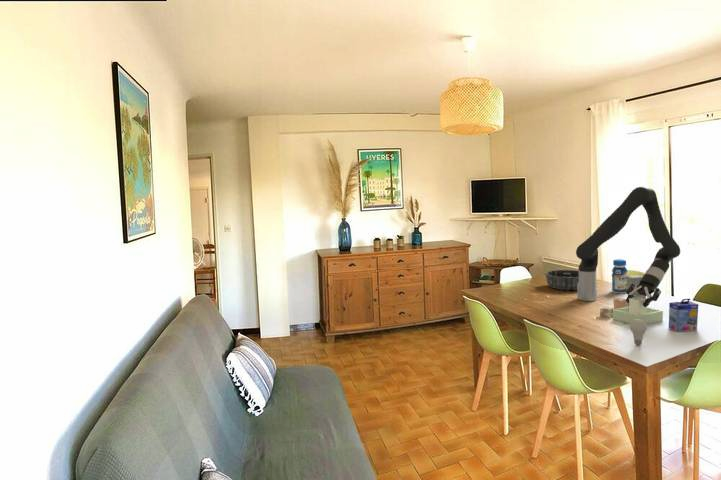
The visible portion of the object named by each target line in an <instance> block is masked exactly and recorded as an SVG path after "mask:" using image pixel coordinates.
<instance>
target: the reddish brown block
mask: <svg viewBox="0 0 721 480" xmlns="http://www.w3.org/2000/svg"><path fill="white" fill-rule="evenodd" d="M626 299H627V298H622V297H620V298H619V297H617V298H613V310H614V309H619V308H624V307H628V303H627V302H626Z"/></svg>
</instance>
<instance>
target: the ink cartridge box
mask: <svg viewBox="0 0 721 480" xmlns="http://www.w3.org/2000/svg"><path fill="white" fill-rule="evenodd" d="M668 307H669V310H668V329H670V330H672V331H674V332H677V333H679V332H680V333H681V332H693V331H696V332H697V330H698V316H699V315H698V314H699V303H696V302H692V301H691V298H682V300H681V301H674V302H669V305H668Z"/></svg>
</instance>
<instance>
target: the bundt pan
mask: <svg viewBox="0 0 721 480" xmlns="http://www.w3.org/2000/svg"><path fill="white" fill-rule="evenodd" d="M544 274H545V278H546V283H547V285H548V286H550V287H551V288H553V289H555V290H561V291H565V290H566V291H569V290H571V291H577V283H579V270H575V269H554V270H547V271H545V273H544Z"/></svg>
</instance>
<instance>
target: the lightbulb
mask: <svg viewBox="0 0 721 480" xmlns="http://www.w3.org/2000/svg"><path fill="white" fill-rule="evenodd" d="M628 326H629V330H630V331H631V333H632V335H633V340H634V341H633V343H634V344H635V345H636V346H641V345H642V344H643V338H644V334H645V333H646V332H647V331H648V330H647V329H648V324H647V325H646V323H645V322H644V321H643V320H641V319H634V320H632V321H631V322H630V324H628Z"/></svg>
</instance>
